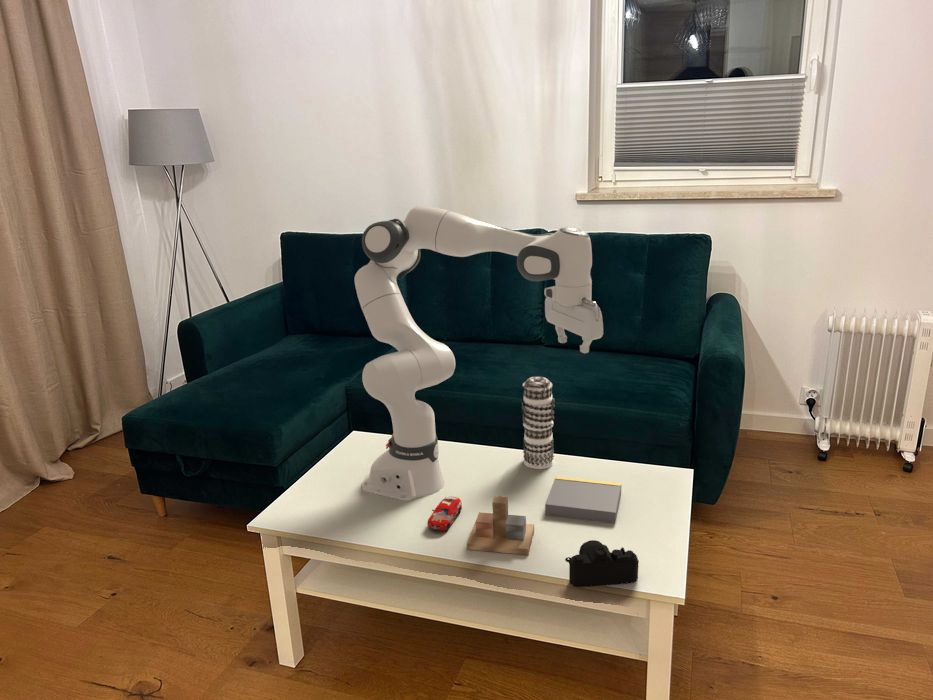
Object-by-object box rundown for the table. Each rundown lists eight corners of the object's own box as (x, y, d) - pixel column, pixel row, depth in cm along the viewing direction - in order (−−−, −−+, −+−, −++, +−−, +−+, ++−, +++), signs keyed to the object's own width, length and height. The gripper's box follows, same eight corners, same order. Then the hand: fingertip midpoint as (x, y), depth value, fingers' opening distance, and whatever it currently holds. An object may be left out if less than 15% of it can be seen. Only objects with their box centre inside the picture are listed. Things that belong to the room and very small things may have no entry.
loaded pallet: (467, 552, 165) (465, 509, 161) (476, 528, 174) (474, 486, 170) (528, 558, 161) (527, 514, 158) (534, 533, 171) (533, 490, 167)
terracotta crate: (476, 536, 166) (475, 521, 165) (479, 527, 170) (479, 512, 168) (493, 538, 165) (492, 523, 164) (496, 528, 169) (495, 513, 168)
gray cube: (506, 539, 165) (505, 524, 163) (509, 529, 168) (508, 514, 167) (523, 540, 164) (523, 525, 162) (526, 531, 167) (525, 516, 166)
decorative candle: (551, 471, 198) (550, 387, 190) (518, 467, 201) (516, 384, 193) (558, 456, 206) (558, 374, 198) (526, 452, 209) (525, 372, 201)
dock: (545, 514, 178) (545, 503, 177) (555, 486, 190) (555, 475, 189) (615, 523, 173) (615, 512, 172) (621, 493, 185) (621, 483, 184)
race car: (445, 535, 170) (444, 520, 169) (424, 531, 172) (423, 516, 171) (465, 508, 182) (465, 494, 181) (445, 504, 184) (445, 490, 182)
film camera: (628, 561, 159) (629, 525, 156) (640, 589, 150) (642, 552, 147) (560, 565, 158) (560, 530, 155) (568, 594, 149) (568, 557, 146)
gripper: (610, 301, 170) (609, 356, 175) (560, 284, 188) (560, 334, 192) (588, 305, 168) (587, 361, 172) (540, 288, 185) (541, 339, 190)
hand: (573, 347), depth 182 cm, fingers open, 8 cm apart
